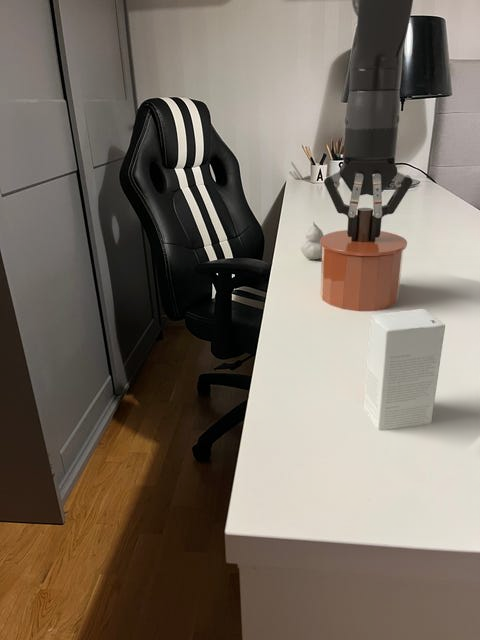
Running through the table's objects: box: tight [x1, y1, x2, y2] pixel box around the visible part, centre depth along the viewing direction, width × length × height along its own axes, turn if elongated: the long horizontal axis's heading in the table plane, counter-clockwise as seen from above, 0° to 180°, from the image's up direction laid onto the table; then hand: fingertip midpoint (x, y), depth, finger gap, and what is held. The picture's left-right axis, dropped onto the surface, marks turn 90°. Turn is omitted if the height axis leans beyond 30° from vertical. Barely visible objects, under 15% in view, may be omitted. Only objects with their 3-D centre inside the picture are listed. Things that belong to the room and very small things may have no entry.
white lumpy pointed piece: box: [300, 221, 325, 260], centre depth 104 cm, size 5×7×8 cm
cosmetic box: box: [363, 308, 446, 431], centre depth 51 cm, size 6×4×12 cm
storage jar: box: [319, 246, 404, 312], centre depth 83 cm, size 13×13×10 cm
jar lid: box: [320, 207, 408, 256], centre depth 80 cm, size 14×14×6 cm
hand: (362, 239), depth 80 cm, fingers closed on jar lid, 2 cm apart
